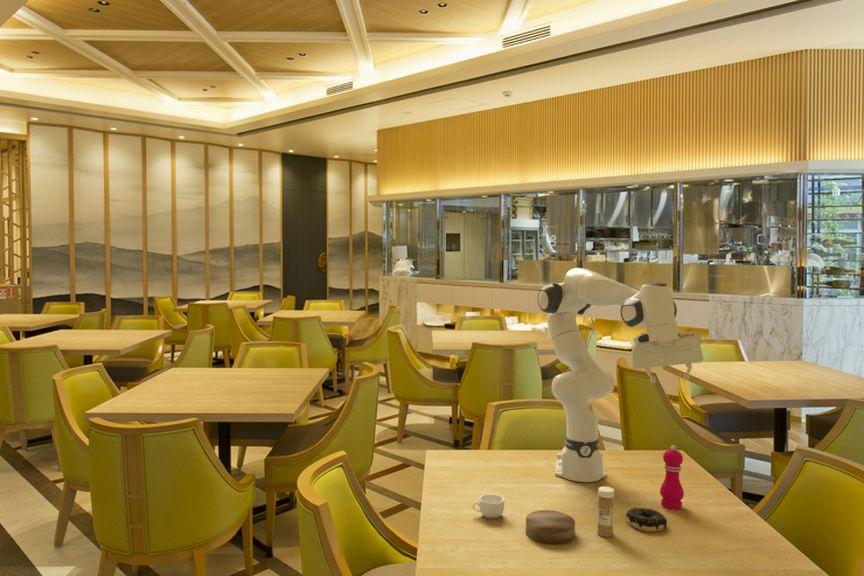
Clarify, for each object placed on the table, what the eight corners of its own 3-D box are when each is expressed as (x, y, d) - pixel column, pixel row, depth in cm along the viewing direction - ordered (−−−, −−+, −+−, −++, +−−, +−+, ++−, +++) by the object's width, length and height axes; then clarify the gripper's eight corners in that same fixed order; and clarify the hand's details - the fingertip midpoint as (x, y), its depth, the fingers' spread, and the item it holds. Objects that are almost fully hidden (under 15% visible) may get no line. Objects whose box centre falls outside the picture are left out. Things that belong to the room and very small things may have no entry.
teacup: (500, 510, 200) (501, 493, 200) (507, 520, 193) (507, 502, 192) (469, 511, 199) (470, 494, 199) (474, 521, 191) (475, 504, 191)
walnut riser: (522, 522, 191) (522, 509, 191) (569, 523, 191) (569, 510, 190) (529, 544, 177) (529, 530, 177) (579, 544, 177) (579, 530, 176)
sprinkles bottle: (594, 534, 183) (595, 489, 183) (601, 529, 187) (602, 484, 186) (609, 539, 180) (610, 493, 180) (616, 533, 184) (617, 488, 183)
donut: (647, 536, 183) (647, 523, 183) (617, 521, 193) (617, 508, 193) (674, 529, 188) (674, 516, 188) (644, 514, 198) (644, 502, 198)
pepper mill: (685, 511, 200) (687, 449, 199) (661, 509, 202) (663, 448, 200) (681, 502, 207) (683, 442, 206) (658, 500, 209) (659, 441, 208)
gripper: (698, 331, 191) (705, 376, 189) (628, 339, 196) (634, 383, 194) (701, 330, 185) (709, 378, 183) (628, 338, 190) (635, 385, 188)
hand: (670, 381), depth 189 cm, fingers open, 8 cm apart
